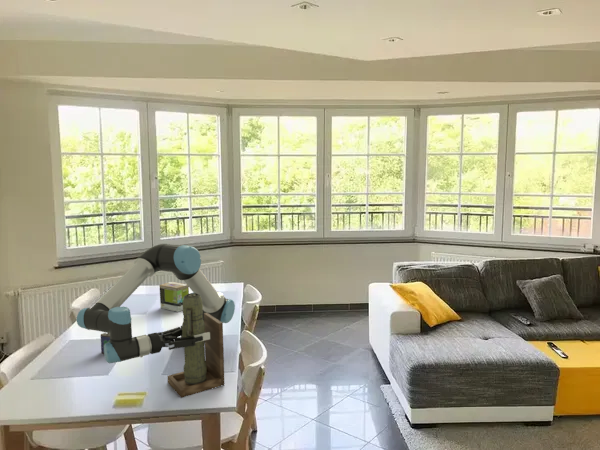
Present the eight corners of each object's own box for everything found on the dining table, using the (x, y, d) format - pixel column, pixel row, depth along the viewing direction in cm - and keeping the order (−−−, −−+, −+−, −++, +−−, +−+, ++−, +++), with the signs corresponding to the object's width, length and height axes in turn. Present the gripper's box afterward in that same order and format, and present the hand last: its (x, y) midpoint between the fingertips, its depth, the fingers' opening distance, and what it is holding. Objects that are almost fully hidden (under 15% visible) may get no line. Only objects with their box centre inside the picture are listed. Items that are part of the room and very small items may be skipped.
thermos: (209, 372, 200) (206, 290, 195) (204, 386, 188) (201, 298, 183) (187, 373, 200) (184, 290, 195) (181, 386, 188) (177, 299, 183)
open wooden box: (209, 371, 205) (207, 312, 202) (224, 385, 193) (222, 322, 189) (167, 382, 195) (164, 321, 192) (181, 398, 183) (178, 332, 179)
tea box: (190, 308, 291) (189, 284, 288) (177, 312, 282) (176, 288, 280) (172, 304, 298) (171, 280, 296) (159, 308, 290) (158, 284, 288)
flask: (121, 352, 226) (119, 330, 224) (117, 355, 223) (115, 333, 221) (103, 351, 228) (101, 329, 226) (99, 353, 225) (98, 331, 223)
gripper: (140, 344, 191) (194, 332, 203) (158, 364, 173) (216, 349, 185) (139, 326, 190) (194, 315, 202) (157, 344, 172) (215, 331, 184)
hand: (204, 331), depth 194 cm, fingers closed on thermos, 9 cm apart
